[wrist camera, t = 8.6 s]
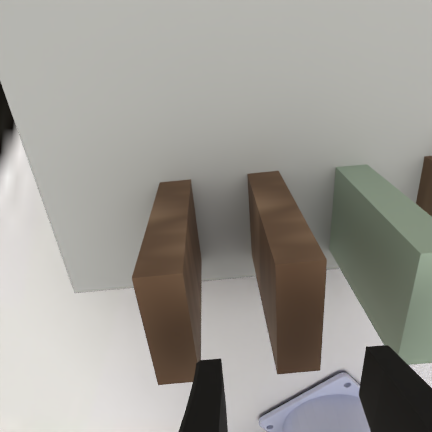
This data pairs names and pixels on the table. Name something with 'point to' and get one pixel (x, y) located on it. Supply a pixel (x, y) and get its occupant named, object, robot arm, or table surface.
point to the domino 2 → (287, 273)
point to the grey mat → (209, 114)
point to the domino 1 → (171, 283)
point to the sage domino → (385, 258)
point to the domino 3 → (425, 186)
